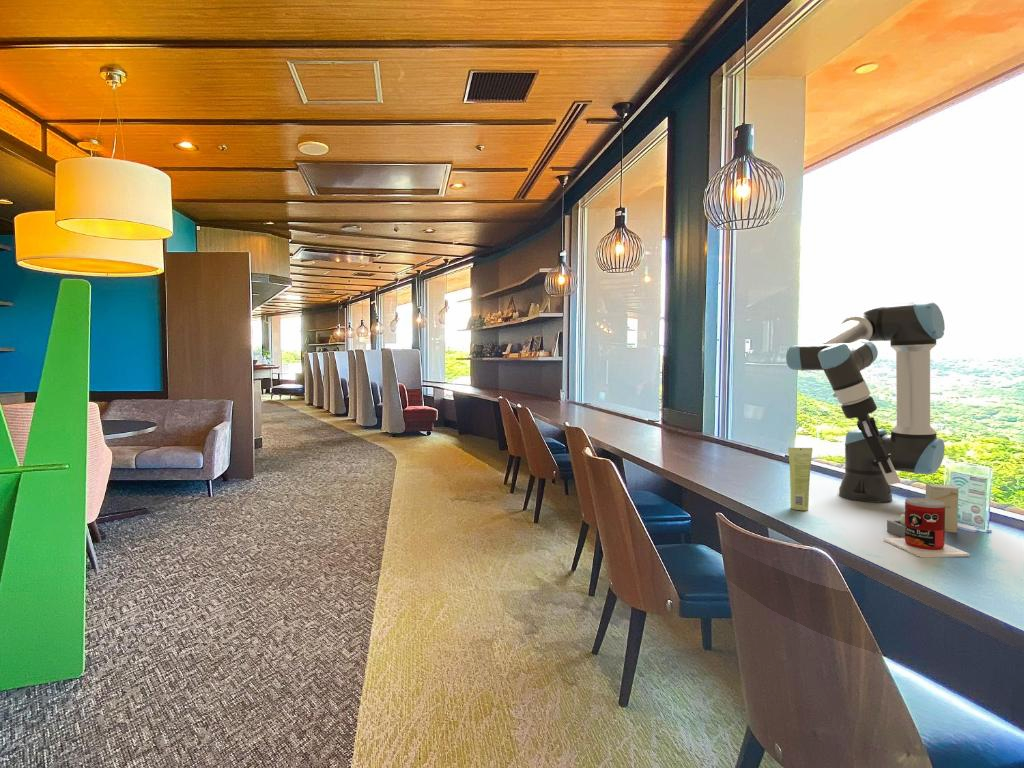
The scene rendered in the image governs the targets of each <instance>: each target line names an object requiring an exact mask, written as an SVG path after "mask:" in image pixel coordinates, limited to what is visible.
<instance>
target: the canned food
mask: <svg viewBox="0 0 1024 768" xmlns="http://www.w3.org/2000/svg"><path fill="white" fill-rule="evenodd" d="M904 500H905V501H904V514H905V541H906V543H907V544H908V545H910V546H913V547H916V548H920V549H927V550H940V549H942V548H943V547H944V544H945V535H946V534H945V503H943V502H941V501H938V500H934V499H927V498H926V497H907V498H905V499H904Z"/></svg>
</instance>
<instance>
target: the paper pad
mask: <svg viewBox="0 0 1024 768" xmlns="http://www.w3.org/2000/svg"><path fill="white" fill-rule="evenodd" d="M882 540H884V541H883V542H885V541H886V542H885V543H887V542H888V544H889V543H890V545H892V546H894V545H895V546H894V547H896V546H897V547H896V548H898V547H900V548H899V549H901V548H902V549H901V550H903V549H904V550H903V551H905V550H906V551H905V552H907V551H909V552H911V553H910V554H912V553H913V554H912V555H914V554H915V555H914V556H916V555H917V557H918V556H920V557H919V558H948V557H949V558H955V557H957V558H958V557H971V553H969V552H966V551H964V550H961V549H958V548H956V547H953V546H951V545H949V544H946V543H944V547H943V548H942V549H940V550H927V549H920V548H916V547H913V546H910V545H908V544H907V543H906V541H905V538H902V537H895V538H894V537H890V538H883V539H882ZM909 552H908V553H909Z"/></svg>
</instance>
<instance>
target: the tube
mask: <svg viewBox="0 0 1024 768" xmlns="http://www.w3.org/2000/svg"><path fill="white" fill-rule="evenodd" d="M787 450H788V459H789V460H788V461H789V462H788V463H789V481H790V482H789V483H790V488H789V489H790V508H791V509H792V510H794V511H796V510H797V511H808V510H809V498H810V479H811V478H810V477H811V466H812V454H813V447H788V449H787Z"/></svg>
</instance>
